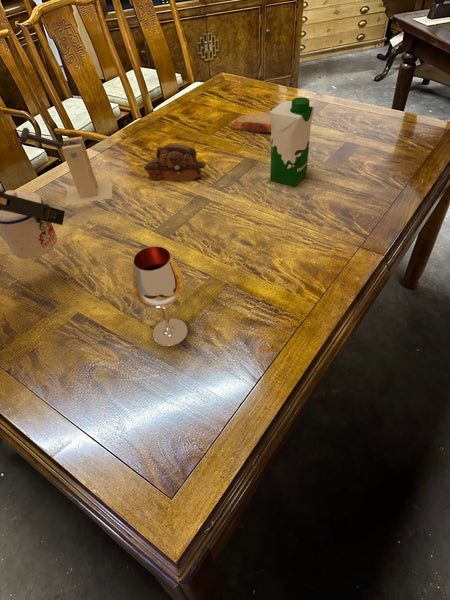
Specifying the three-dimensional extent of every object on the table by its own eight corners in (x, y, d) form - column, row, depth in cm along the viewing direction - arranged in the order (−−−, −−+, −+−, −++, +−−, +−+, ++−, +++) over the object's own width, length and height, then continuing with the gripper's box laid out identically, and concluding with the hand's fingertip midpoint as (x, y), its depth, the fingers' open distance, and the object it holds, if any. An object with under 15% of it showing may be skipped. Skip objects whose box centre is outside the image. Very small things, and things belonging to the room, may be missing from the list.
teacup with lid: (56, 256, 78) (31, 203, 69) (6, 263, 77) (-25, 210, 69) (63, 219, 86) (42, 167, 78) (18, 225, 86) (-8, 173, 77)
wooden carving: (146, 187, 111) (138, 152, 104) (149, 178, 114) (141, 143, 107) (207, 185, 110) (204, 149, 103) (208, 176, 113) (205, 140, 106)
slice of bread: (229, 125, 134) (228, 113, 131) (276, 110, 139) (277, 99, 136) (258, 147, 123) (258, 134, 120) (309, 130, 128) (310, 118, 125)
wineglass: (170, 309, 80) (152, 234, 67) (201, 328, 77) (189, 253, 64) (139, 336, 76) (113, 262, 63) (170, 358, 73) (151, 284, 59)
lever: (19, 143, 95) (19, 134, 94) (22, 134, 98) (23, 124, 97) (79, 160, 100) (80, 151, 99) (80, 150, 104) (82, 142, 102)
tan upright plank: (66, 209, 107) (44, 155, 96) (68, 190, 113) (48, 137, 102) (113, 201, 108) (96, 147, 97) (113, 183, 114) (97, 130, 103)
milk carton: (295, 189, 106) (301, 110, 91) (264, 180, 110) (265, 102, 95) (311, 173, 111) (318, 95, 96) (281, 165, 114) (284, 89, 100)
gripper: (-131, 199, 62) (-7, 224, 84) (-16, 223, 56) (85, 242, 78) (-124, 149, 61) (-2, 186, 83) (-7, 167, 56) (92, 202, 77)
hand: (40, 213), depth 80 cm, fingers closed on teacup with lid, 9 cm apart
